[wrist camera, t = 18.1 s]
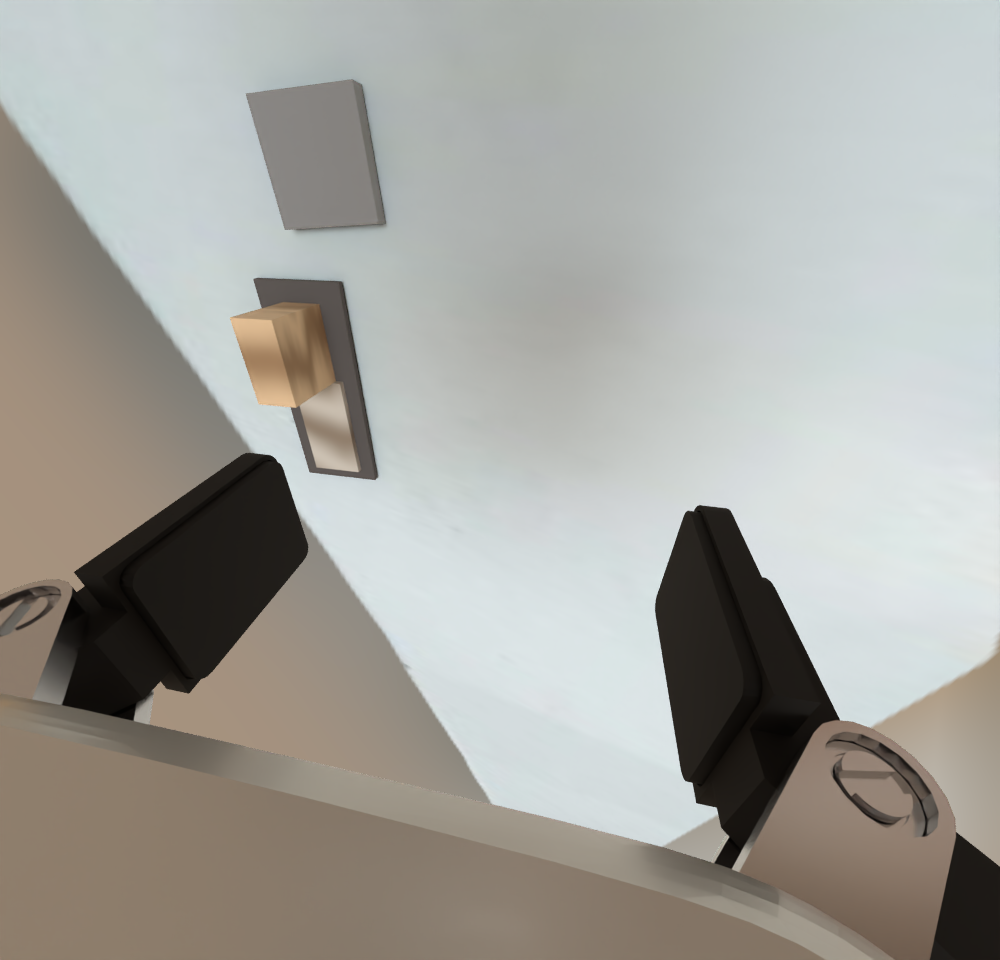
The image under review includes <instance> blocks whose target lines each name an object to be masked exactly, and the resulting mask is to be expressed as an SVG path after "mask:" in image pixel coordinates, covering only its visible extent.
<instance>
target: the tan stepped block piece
mask: <svg viewBox="0 0 1000 960" xmlns="http://www.w3.org/2000/svg"><path fill="white" fill-rule="evenodd" d="M230 320H231V323H232V326H233V329H234V332H235V334H236V337H237V340H238V343H239V346H240V349H241V352H242V355H243V358H244V361H245V364H246V367H247V370H248V373H249V376H250V379H251V382H252V385H253V388H254V391H255V394H256V397H257V400H258V403H259V404H262V405H273V406H284V407H295V408H296V407H298V406H300V409H301V413H302V416H303V420H304V424H305V427H306V431H307V434H308V438H309V442H310V445H311V449H312V452H313V456H314V460H315V463H316V467H318V468H326V469H335V470H344V471H352V472H359V471H360V470H361V466H360V461H359V456H358V452H357V447H356V442H355V437H354V432H353V427H352V423H351V418H350V413H349V408H348V403H347V398H346V394H345V389H344V384H343V382H339V381H336V379H335V375H334V370H333V366H332V361H331V356H330V352H329V347H328V343H327V338H326V333H325V329H324V324H323V320H322V315H321V310H320V306H319V304H309V303H289V302H282V303H278V304H275V305H272V306H268V307H265V308H261V309H258V310H255V311H251V312H248V313H244V314H241V315H238V316H234V317H231V318H230Z"/></svg>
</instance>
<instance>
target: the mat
mask: <svg viewBox="0 0 1000 960" xmlns="http://www.w3.org/2000/svg"><path fill="white" fill-rule="evenodd" d="M254 283H255V286H256V290H257V293H258V297H259V300H260V304H261V307H262V308H265V307H268V306H272V305H275V304H278V303H282V302H289V303H309V304H319V306H320V310H321V315H322V320H323V324H324V329H325V333H326V338H327V343H328V347H329V352H330V356H331V361H332V366H333V370H334V375H335V379H336V381H339V382H343V384H344V389H345V394H346V398H347V403H348V408H349V413H350V418H351V423H352V427H353V432H354V437H355V442H356V447H357V452H358V456H359V461H360V466H361V470H360V471H359V472H352V471H344V470H335V469H326V468H318V467H316V463H315V460H314V456H313V452H312V449H311V445H310V442H309V438H308V434H307V431H306V427H305V424H304V420H303V416H302V413H301V409H300V406H298V407H296V408H295V407H291V410H292V413H293V417H294V420H295V424H296V427H297V431H298V434H299V437H300V441H301V444H302V448H303V451H304V455H305V458H306V462H307V465H308V468H309V472H311V473H320V474H328V475H337V476H345V477H354V478H363V479H371V480H376V478H377V471H376V466H375V461H374V455H373V450H372V444H371V439H370V433H369V428H368V422H367V417H366V412H365V406H364V401H363V395H362V390H361V384H360V379H359V373H358V368H357V363H356V357H355V352H354V346H353V341H352V335H351V330H350V324H349V319H348V314H347V308H346V303H345V297H344V292H343V286H342V282H338V281H315V280H291V279H268V278H256V279H254Z"/></svg>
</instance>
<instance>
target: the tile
mask: <svg viewBox="0 0 1000 960" xmlns="http://www.w3.org/2000/svg"><path fill="white" fill-rule="evenodd" d="M246 96H247V100H248V103H249V107H250V110H251V114H252V117H253V120H254V124H255V127H256V131H257V134H258V138H259V141H260V145H261V148H262V152H263V155H264V159H265V162H266V166H267V169H268V173H269V176H270V179H271V183H272V186H273V190H274V193H275V197H276V200H277V204H278V207H279V211H280V214H281V218H282V221H283V225H284V228H285V230H290V229H306V228H322V227H338V226H353V225H369V224H384V223H385V217H384V212H383V206H382V200H381V194H380V188H379V183H378V177H377V171H376V165H375V160H374V154H373V148H372V142H371V137H370V131H369V125H368V119H367V113H366V108H365V102H364V96H363V90H362V85H361V84H360V83H358V82H356V81H354V80H353V79H352V80H345V81H337V82H330V83H322V84H315V85H307V86H300V87H292V88H285V89H277V90H270V91H262V92H255V93H247V94H246Z"/></svg>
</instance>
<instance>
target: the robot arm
mask: <svg viewBox="0 0 1000 960" xmlns="http://www.w3.org/2000/svg"><path fill="white" fill-rule="evenodd" d="M307 553H308V543H307V540H306V538H305V534H304V531H303V528H302V525H301V522H300V519H299V516H298V513H297V510H296V507H295V504H294V501H293V498H292V495H291V491H290V488H289V485H288V482H287V479H286V476H285V473H284V470H283V467H282V465H281V464H280V463H278V462H277V460H276V459H275V458H274V457H273V456H270V455H263V454H255V453H245V454H243V455H241V456H240V457H238V458H237V459H235V460H234V461H233V462H231V463H230V464H228V465H227V466H225V467H224V468H222V469H221V470H220V471H218V472H217V473H215V474H214V475H212V476H211V477H210V478H208V479H207V480H205V481H204V482H202V483H201V484H199V485H198V486H197V487H195V488H194V489H192V490H191V491H190V492H188V493H187V494H186V495H184V496H182V497H181V498H180V499H178V500H177V501H175V502H174V503H172V504H171V505H169V506H168V507H167V508H165V509H164V510H162V511H161V512H159V513H158V514H157V515H155V516H154V517H152V518H151V519H149V520H148V521H147V522H145V523H144V524H143V525H141V526H140V527H138V528H137V529H135V530H134V531H132V532H131V533H129V534H128V535H126V536H125V537H124V538H122V539H121V540H119V541H118V542H116V543H115V544H114V545H112V546H111V547H109V548H108V549H106V550H105V551H104V552H102V553H101V554H99V555H98V556H96V557H95V558H94V559H92V560H91V561H89V562H88V563H86V564H85V565H83V566H82V567H81V568H79V569H78V570H76V571H75V572H74V573H75V574H76V575H77V577H78V578H79V579H80V580H81V581H82V583H83V584H84V585H85V587H83V588H82V589H81V590H79V591H78V592H76V591H75V590H74V589H73V587H72V586H71V585H70V584H69V583H68V582H66V581H62V580H59V579H57V580H43V581H38V582H33V583H29V584H26V585H23V586H20V587H17V588H14V589H12V590H10V591H8V592H5V593H3V594H1V595H0V960H1000V867H999V866H998V865H997V864H996V863H994V862H993V861H992V860H991V859H989V858H988V857H987V856H986V855H984V854H983V853H982V852H981V851H979V850H978V849H977V848H976V847H974V846H973V845H972V844H970V843H969V842H968V841H967V840H965V839H964V838H963V837H962V836H960V835H959V834H958V833H957V832H956V825H955V817H954V815H953V812H952V810H951V807H950V804H949V802H948V799H947V797H946V796H945V794H944V793H943V791H942V790H941V789H940V787H939V785H938V784H937V783H936V781H935V780H934V778H933V777H932V775H930V773H929V772H928V771H926V769H925V768H924V767H923V766H922V765H921V764H920V763H919V762H918V761H917V760H916V759H915V758H914V757H913V756H912V755H911V754H910V753H908V752H907V751H906V750H904V749H903V748H902V747H901V746H899V745H898V744H897V743H896V742H894V741H893V740H891V739H889V738H888V737H886V736H884V735H882V734H881V733H879V732H877V731H875V730H874V729H871V728H869V727H866V726H863V725H860V724H857V723H855V722H849V721H840V719H839V717H838V715H837V713H836V711H835V709H834V707H833V705H832V703H831V701H830V699H829V697H828V695H827V693H826V691H825V689H824V687H823V685H822V683H821V681H820V678H819V676H818V674H817V672H816V670H815V668H814V666H813V664H812V662H811V660H810V658H809V656H808V654H807V652H806V650H805V648H804V646H803V644H802V642H801V640H800V638H799V636H798V634H797V632H796V630H795V628H794V626H793V624H792V621H791V619H790V617H789V615H788V613H787V611H786V609H785V607H784V605H783V603H782V601H781V599H780V597H779V595H778V593H777V591H776V589H775V587H774V586H773V584H772V583H771V581H769V580H768V579H766V578H762V577H761V574H760V572H759V570H758V568H757V566H756V564H755V562H754V559H753V557H752V555H751V553H750V551H749V549H748V547H747V545H746V542H745V540H744V538H743V536H742V534H741V532H740V530H739V528H738V525H737V523H736V521H735V519H734V517H733V515H732V513H731V511H730V510H729V509H727V508H718V507H710V506H701V505H699V506H697V507H696V508H695V510H694V512H693V511H687V512H686V513H685V515H684V517H683V520H682V523H681V526H680V529H679V532H678V535H677V538H676V541H675V544H674V547H673V550H672V553H671V556H670V559H669V562H668V565H667V567H666V570H665V573H664V576H663V579H662V582H661V585H660V588H659V591H658V594H657V597H656V603H655V613H656V619H657V626H658V632H659V638H660V644H661V650H662V656H663V663H664V669H665V675H666V681H667V687H668V693H669V700H670V706H671V712H672V718H673V724H674V730H675V736H676V743H677V749H678V755H679V761H680V767H681V772H682V775H683V778H684V780H685V781H687V782H692V783H693V787H694V793H695V798H696V803H698V804H703V805H707V806H712V807H717V810H718V815H719V819H720V824H721V828H722V829H723V830H724V831H725V832H726V834H727V835H726V836H725V838H724V839H723V841H722V843H721V845H720V846H719V848H718V850H717V851H716V853H715V855H714V856H713V858H712V860H711V862H708V861H705V860H702V859H699V858H696V857H692V856H689V855H686V854H683V853H679V852H676V851H673V850H670V849H667V848H664V847H660V846H656V845H652V844H648V843H644V842H640V841H637V840H633V839H629V838H625V837H621V836H617V835H613V834H609V833H605V832H602V831H598V830H594V829H590V828H586V827H582V826H578V825H574V824H571V823H567V822H563V821H559V820H555V819H551V818H547V817H543V816H539V815H535V814H530V813H526V812H522V811H518V810H513V809H509V808H505V807H501V806H497V805H492V804H488V803H484V802H479V801H476V800H471V799H467V798H462V797H459V796H455V795H450V794H446V793H442V792H437V791H433V790H429V789H425V788H420V787H416V786H412V785H408V784H404V783H400V782H395V781H391V780H387V779H383V778H379V777H374V776H370V775H366V774H361V773H357V772H353V771H349V770H344V769H340V768H336V767H331V766H327V765H323V764H318V763H314V762H310V761H306V760H301V759H297V758H293V757H288V756H284V755H280V754H275V753H271V752H266V751H262V750H258V749H253V748H249V747H245V746H241V745H236V744H232V743H228V742H223V741H219V740H215V739H210V738H205V737H201V736H197V735H193V734H188V733H184V732H179V731H175V730H170V729H166V728H162V727H157V726H153V725H149V723H150V715H151V708H152V701H153V693H154V692H153V689H154V688H155V687H156V686H157V684H158V683H159V682H160V681H161V682H162V684H163V685H164V686H165V687H166V688H167V689H171V690H175V691H180V692H184V693H190V692H191V691H192V689H193V688H194V687H195V686H196V685H197V683H198V682H199V681H200V680H201V679H202V678H205V677H207V676H208V675H209V674H210V673H211V672H212V671H213V670H214V669H215V668H216V666H217V665H218V664H219V663H220V661H221V660H222V659H223V658H224V657H225V655H226V654H227V653H228V652H229V650H230V649H231V648H232V647H233V646H234V644H235V643H236V642H237V641H238V640H239V638H240V637H241V636H242V635H243V634H244V632H245V631H246V630H247V629H248V627H249V626H250V625H251V624H252V622H253V621H254V620H255V619H256V618H257V617H258V615H259V614H260V613H261V612H262V610H263V609H264V608H265V607H266V606H267V604H268V603H269V602H270V601H271V599H272V598H273V597H274V596H275V595H276V593H277V592H278V591H279V590H280V589H281V587H282V586H283V585H284V584H285V582H286V581H287V580H288V579H289V578H290V576H291V575H292V574H293V573H294V572H295V570H296V569H297V568H298V567H299V565H300V564H301V563H302V562H303V560H304V559H305V558H306V556H307Z"/></svg>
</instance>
